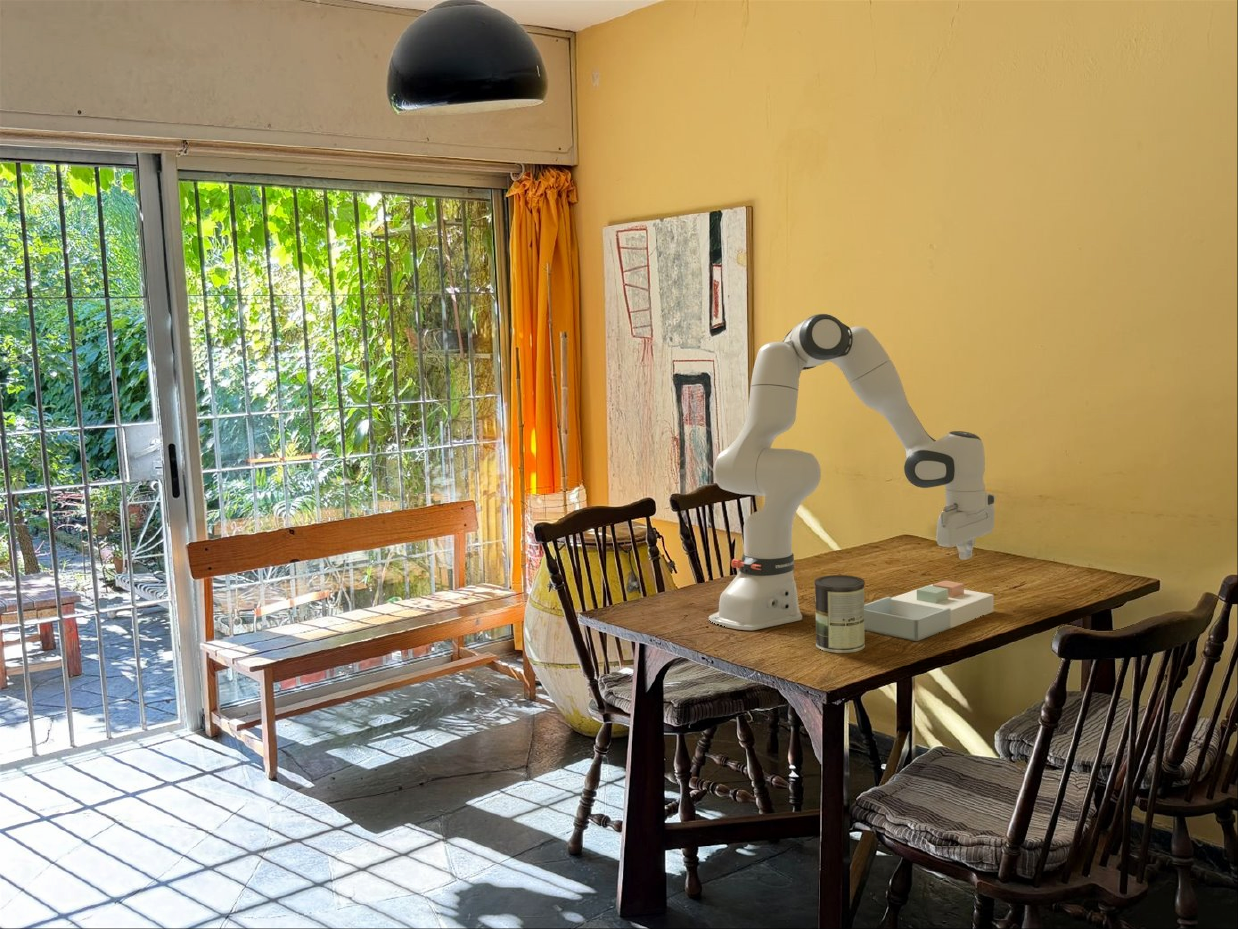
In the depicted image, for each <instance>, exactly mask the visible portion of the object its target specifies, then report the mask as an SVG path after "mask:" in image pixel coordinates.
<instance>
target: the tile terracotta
mask: <svg viewBox="0 0 1238 929" xmlns="http://www.w3.org/2000/svg"><path fill="white" fill-rule="evenodd" d="M933 586H934V587H940V588H946V589H948V597H949V598H953V597H956V596H959V595H962V594H964V590H965V583H962V582H956V581H951V580H941V581H939V582H936V583H933Z"/></svg>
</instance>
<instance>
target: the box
mask: <svg viewBox="0 0 1238 929" xmlns="http://www.w3.org/2000/svg"><path fill="white" fill-rule="evenodd" d="M891 598H892V597H891V596H886V597H883V598H880V599H877V600H874V601H871V602H869V603H864V631H867V632H872V633H877V634H881V635H886V636H890V637H896V638H900V639H904V640H908V641H913V642H919V641H921V640H924V639H926V638H930V637H932V636H934V635H936V634H939V632H940V633H942V632H945V631H947V630H950V629H951V628H950V608H946V609H943V610H941V611H938V612H935V613H932V614H930V615H927V616H924V617H921V618H919V619H913V618H908V617H903V616H898V615H893V614H891Z"/></svg>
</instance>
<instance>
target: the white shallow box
mask: <svg viewBox="0 0 1238 929" xmlns="http://www.w3.org/2000/svg"><path fill="white" fill-rule="evenodd" d="M933 584H934V583H933ZM933 584H929V585H925V586H923V587H926V586H933ZM923 587H920V588H923ZM920 588H917V589H920ZM917 589H913V590H910V591H908V592H905V593H902V594H898V595H896V596H895V595H894V596H893V597H891V614H893V615H898V616H903V617H908V618H913V619H919V618H921V617H924V616H927V615H930V614H932V613H935V612H938V611H941V610H943V609H946V608H950V629H952V628H955V627H958V626H960V625H962V624H965V623H967V622H971V621H973V620H976V619H979V618H980V616H981V617H983V616H982V615H984V616H986V615H989V614H991V613H994V610H995V609H994V607H995V606H994V602H995V601H994V597H995V595H994V594H992V593H986V592H981V591H974V590H968V589H964V594H962V595H959V596H956V597H953V598H949V597H948V600H945V601H942V602H939V603H937V604H935V603H930V602H924V601H919V600H917ZM975 618H976V619H975Z"/></svg>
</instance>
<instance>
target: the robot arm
mask: <svg viewBox="0 0 1238 929" xmlns="http://www.w3.org/2000/svg"><path fill="white" fill-rule="evenodd" d="M828 362H829V363H832V364H833V365H835V366H837V367H838V369H839V370H841V372H842V374H843V375H844V377H845V379H846V380H847V383H848V384H849V386H850V388H851V389H852V391H853V392H854V393H855V395H856V396H857V397H858V399H859V400H860V401H861V402H862V403H863V405H865V407H868V408H870V409H872V410H874V411H876V412H877V413H879V414H880V415H882V416H883V417H884V418H885V419H886V421H887V423H888V424H889V425H890V427H891V428H892V429H893V431H894V433H895V435H896V436H897V438H898V439H899V441H900V443H901V444H902V446H903V448H904V451H905V461H904V466H903V470H904V471H903V472H904V475H905V478H906V479H907V481H908V482H910V484H911V485H913V486H914V487H917V488H922V489H930V488H934V487H939V486H945V506H944V507H943V510H942V511H941V513H940V514H939V516H938V518H937V523H936V524H937V525H936V542H937V545H938V546H939V547H945V548H953V547H956V548H957V552H958V558H959V559H960V560H962V561H965V560H968V559H970V558H972V557H973V549H974V546H975V543H976V539H977V538H981V537H983V536H985V535H988V534H991V533H993V531H994V528H995V506H994V505H995V503H996V495H995V494H992V493H990V492H986V484H985V482H984V474H985V472H986V462H985V461H986V460H985V459H986V457H985V448H984V443H983V439H981V438H980V437H979V436H978V435H977V434H975V433H972V432H968V431H960V430H958V431H957V430H952V431H950V432H948V433H947V434H946V435H945V436H943V437H941V438H939V439H937V440H936V439H935V438H933V437H932V436H930V435H929V434H928V432H927V431H926V430H925V428H924V426H923V425H922V423H921V421H920V420H919V419H918V417H917V415H916V413H915V412H914V410H913V409H912V407H911V405H910V403H909V400H908V399H907V395H906V392H905V389H904V386H903V383H902V380H901V377H900V375H899V373H898V370H897V369H896V367H895V364H894V363H893V361H892V359H891V356H889V354H888V352H887V351H886V350H885V348H884V347H883V346H882V344H881V343H880V341H879V340H878V339H877V338H876V337H875V335H873V333H872V332H871V331H870V330H869V329H868V328H866V327H864V326H853V327H849V326H848V325H846V324H845V323H843V322H841V320H839V319H838V318H837V317H835V316H833V315H831V314H828V313H819V314H814V315H811V316H809V317H808V318H807V319H805V320H804V319H803V320H802V321H800V322H799V323H798V324H796V325H795V326H794V327H793V328H792V329H791V330H790V331H788V333H787V334H786V335H785V337H784V338H783V340H782V341H771V342H767V343H765V344H763V345H762V346H761V347H760V348H759V350H758V351H757V355H756V358H755V361H754V366H753V370H752V373H751V375H752V376H751V381H750V390H749V399H748V407H747V411H746V417H745V421H744V424H743V425H742V428H741V430H740V431H739V434H738V435H737V436H736V438H735V439H734V440H733V442H732V443H731V444H729V446H728V447H725V449H723V450H722V451H721V452H720V453H719V454H718V455H717V457H716V459H715V461H714V464H713V478H714V480H715V482H716V484H717V486H718V487H719V489H722V490H724V491H727V492H731V493H734V494H739V495H751V496H763V497H764V504H763V507H762V508H761V509H758V510H757V511H755V512H752V513H751V514H750V515H749V516H747V517H746V520H745V522H744V524H743V554H742V556H741V559H737V558H733V559H732V560H731V562H730V565H731V567H732V568H735V569H736V568H737V569H738V571H739V572H738V573H737V575H736V576H735V577H734V578H733V580H731V582H730V583H729V584H728V586H727V587H726V588H725V589H724V590H723V591H722V593H721V594H720V597H719V600H718V601H719V602H718V611H717V612H714V613H712V614H710V615H708V621H709V620H710V621H711V622H710V621H709V622H710V623H712V622H713V623H712V624H714V623H715V624H714V625H717V624H719V625H718V626H720V625H722V626H721V627H724V626H725V627H724V628H729V629H733V630H739V631H740V630H743V631H756V630H761V629H762V630H763V629H766V628H769V627H770V628H772V627H775V626H780V625H784V624H788V623H793V622H797V621H802V620H803V615H802V613H801V610H800V606H799V598H798V590H797V583H796V581H795V578H794V573H793V572H794V570H795V563H796V562H795V557H794V556H795V555H794V553H793V550H792V548H793V546H792V545H793V544H792V543H793V524H794V519H795V515H796V513H797V511H798V509H799V508H800V505H801V504H802V502H804V500H805V499H807V498H808V497H809V496H811V494H813V493H814V492H815V490H816V489H817V488H818V486H819V485H820V482H821V479H822V478H821V477H822V469H821V466H820V463H819V460H818V459H817V457H816V456H815V455H814V454H813V453H809V452H806V451H803V450H799V449H795V448H771V447H772V444H773V443H774V441H775V439H776V438H777V437H779V435H781V434H784V433H786V432H788V431H789V430H790V429H791V428H792V427H793V426H794V424H795V422H796V417H797V416H796V415H797V407H798V396H799V386H800V385H799V384H800V377H801V373H802V371H804V370H805V371H806V370H811V369H813V368H816V367H817V366H820V365H821V366H822V365H825V364H826V363H828Z"/></svg>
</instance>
